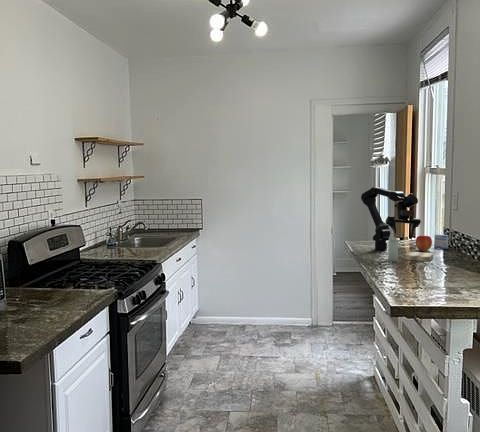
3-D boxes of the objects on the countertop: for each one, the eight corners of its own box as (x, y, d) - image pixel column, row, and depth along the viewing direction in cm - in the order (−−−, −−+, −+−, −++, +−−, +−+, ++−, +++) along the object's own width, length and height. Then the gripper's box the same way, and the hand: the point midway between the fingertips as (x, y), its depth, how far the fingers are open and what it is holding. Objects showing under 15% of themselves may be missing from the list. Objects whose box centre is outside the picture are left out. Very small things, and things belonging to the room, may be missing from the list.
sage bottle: (387, 260, 264) (387, 237, 263) (389, 259, 269) (389, 236, 267) (396, 261, 262) (397, 238, 260) (398, 260, 266) (399, 237, 265)
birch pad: (405, 259, 268) (405, 255, 268) (409, 255, 279) (409, 251, 279) (429, 261, 262) (430, 257, 261) (433, 257, 273) (433, 253, 273)
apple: (434, 252, 290) (434, 236, 289) (418, 252, 290) (419, 236, 289) (428, 249, 299) (428, 233, 298) (413, 249, 300) (413, 233, 299)
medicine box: (433, 248, 304) (434, 234, 304) (434, 247, 308) (435, 234, 307) (447, 249, 301) (447, 235, 300) (447, 248, 305) (448, 234, 304)
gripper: (389, 202, 273) (391, 226, 265) (422, 205, 272) (425, 229, 264) (384, 212, 283) (385, 235, 275) (416, 215, 282) (418, 238, 274)
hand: (403, 234), depth 272 cm, fingers open, 9 cm apart
